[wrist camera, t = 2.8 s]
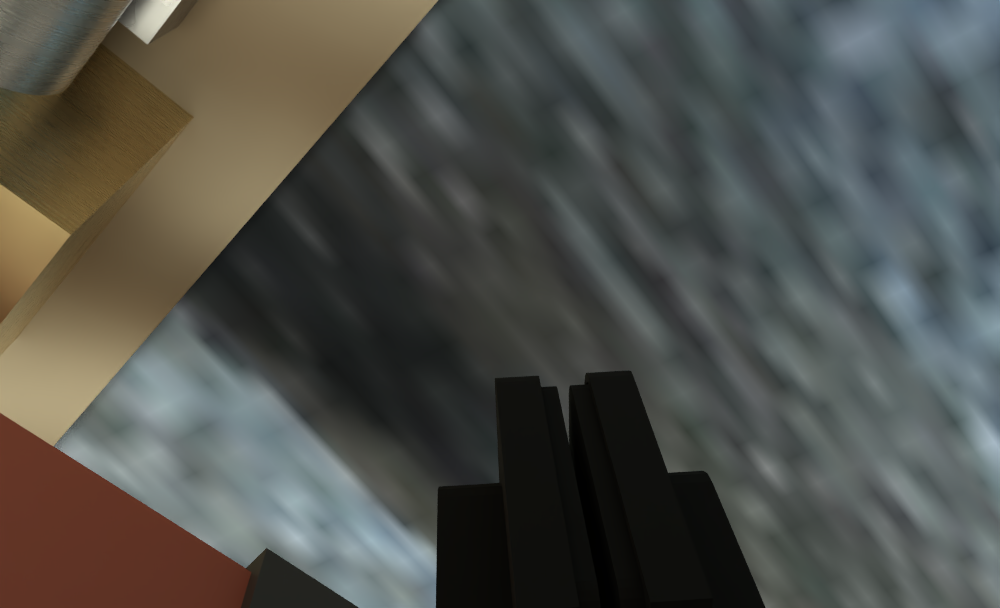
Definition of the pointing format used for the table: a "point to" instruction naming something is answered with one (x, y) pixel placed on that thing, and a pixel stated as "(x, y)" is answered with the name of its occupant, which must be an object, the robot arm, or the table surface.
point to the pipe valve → (71, 136)
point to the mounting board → (197, 178)
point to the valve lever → (117, 546)
